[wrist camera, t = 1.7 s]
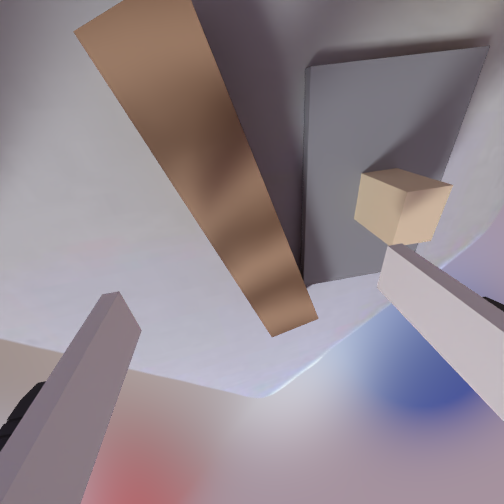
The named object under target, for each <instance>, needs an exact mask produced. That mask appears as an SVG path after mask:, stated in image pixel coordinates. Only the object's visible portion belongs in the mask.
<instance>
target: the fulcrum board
mask: <svg viewBox="0 0 504 504" xmlns="http://www.w3.org/2000/svg"><path fill="white" fill-rule="evenodd" d="M489 48H490V46H484V47H475V48H466V49H457V50H449V51H440V52H431V53H423V54H414V55H405V56H396V57H388V58H379V59H370V60H361V61H353V62H344V63H335V64H326V65H318V66H310V67H308V68H306V69H305V101H304V146H303V190H302V234H301V276H302V279H303V281H304V284H305V285H311V284H316V283H322V282H328V281H333V280H339V279H344V278H350V277H355V276H361V275H366V274H372V273H378V272H381V269H382V265H383V262H384V258H385V254H386V250H387V246H389V245H395V244H401V243H402V244H404V245H405V246H407V247H408V248H410V249H411V250H413V251H414V252H415V251H416V248H417V245H418V243H421V242H427V241H431V239H432V237H433V234H434V232H435V229H436V227H437V224H438V222H439V219H440V217H441V214H442V212H443V209H444V207H445V204H446V202H447V199H448V197H449V194H450V192H451V189H452V187H453V185H451V184H448V183H444V182H441V179H442V177H443V174H444V171H445V168H446V166H447V163H448V160H449V157H450V155H451V152H452V149H453V146H454V144H455V141H456V138H457V136H458V133H459V130H460V127H461V125H462V122H463V119H464V116H465V114H466V111H467V108H468V105H469V103H470V100H471V97H472V94H473V92H474V89H475V86H476V83H477V81H478V78H479V75H480V72H481V70H482V67H483V64H484V62H485V59H486V56H487V53H488V51H489Z"/></svg>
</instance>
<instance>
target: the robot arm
mask: <svg viewBox="0 0 504 504" xmlns="http://www.w3.org/2000/svg"><path fill="white" fill-rule="evenodd" d="M377 288H378V289H379V290H380V291H381V292H382V294H383V295H384V296H385V297H386V298H387V299H388V300H389V301H390V302H391V303H392V304H393V305H394V306H395V307H396V308H397V309H398V310H399V311H400V313H401V314H402V315H403V316H404V317H405V318H406V319H407V320H408V321H409V322H410V323H411V324H412V325H413V326H414V327H415V328H416V329H417V330H418V331H419V332H420V334H421V335H422V336H423V337H424V338H425V339H426V340H427V341H428V342H429V343H430V344H431V345H432V346H433V347H434V348H435V349H436V350H437V351H438V353H439V354H440V355H441V356H442V357H443V358H444V359H445V360H446V361H447V362H448V363H449V364H450V365H451V366H452V367H453V368H454V369H455V371H456V372H457V373H459V375H460V376H461V377H462V378H463V379H464V380H465V381H466V382H467V383H468V384H469V385H470V386H471V387H472V388H473V389H474V390H475V392H476V393H477V394H478V395H479V396H480V397H481V398H482V399H483V400H484V401H485V402H486V403H487V404H488V405H489V406H490V407H491V408H492V410H493V411H494V412H495V413H497V415H498V416H499V417H500V418H501V419H502V420H503V421H504V305H503V304H501V303H499V302H496V301H494V300H492V299H490V298H487V297H481V296H479V295H478V294H476V293H475V292H473V291H472V290H471V289H469V288H468V287H466V286H465V285H463V284H461V283H460V282H459V281H457V280H456V279H454V278H453V277H451V276H449V275H448V274H447V273H445V272H444V271H442V270H441V269H439V268H438V267H436V266H435V265H433V264H432V263H430V262H429V261H427V260H426V259H425V258H423V257H422V256H420V255H419V254H417V253H416V252H414V251H413V250H411V249H410V248H408V247H407V246H405V245H404V244H402V243H401V244H395V245H389V246H387V250H386V254H385V258H384V262H383V265H382V269H381V273H380V277H379V281H378V285H377ZM140 333H141V328H140V327H139V325H138V323H137V322H136V320H135V318H134V316H133V315H132V313H131V311H130V309H129V308H128V306H127V304H126V302H125V301H124V299H123V297H122V295H121V294H120V292H114V293H108V294H102V296H101V297H100V299H99V300H98V302H97V303H96V305H95V306H94V308H93V310H92V311H91V313H90V314H89V316H88V317H87V319H86V320H85V322H84V323H83V325H82V327H81V328H80V330H79V331H78V333H77V334H76V336H75V337H74V339H73V340H72V342H71V344H70V345H69V347H68V348H67V350H66V351H65V353H64V354H63V356H62V358H61V359H60V361H59V362H58V364H57V365H56V367H55V368H54V370H53V371H52V373H51V375H50V376H49V378H48V379H47V381H45V382H40V383H38V384H36V385H35V386H34V387H33V388H32V389H31V390H30V391H29V392H28V393H27V394H26V395H25V396H24V397H23V398H22V399H21V400H20V402H19V403H18V405H17V406H16V407H15V409H14V410H13V412H12V413H11V415H10V416H9V417H8V419H7V423H6V424H4V425H3V426H2V428H1V429H0V504H80V503H81V500H82V498H83V495H84V492H85V489H86V486H87V484H88V481H89V478H90V475H91V472H92V469H93V466H94V464H95V461H96V458H97V455H98V452H99V449H100V447H101V444H102V441H103V438H104V435H105V433H106V429H107V427H108V424H109V421H110V418H111V416H112V413H113V410H114V407H115V404H116V401H117V398H118V396H119V393H120V390H121V387H122V384H123V381H124V379H125V376H126V373H127V370H128V367H129V364H130V362H131V359H132V356H133V353H134V350H135V347H136V345H137V342H138V339H139V336H140Z"/></svg>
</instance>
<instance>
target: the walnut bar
mask: <svg viewBox="0 0 504 504" xmlns="http://www.w3.org/2000/svg"><path fill="white" fill-rule="evenodd" d="M73 32H74V33H75V35H76V37H77V38H78V40H79V41H80V43H81V44H82V46H83V47H84V49H85V50H86V52H87V53H88V55H89V57H90V58H91V60H92V61H93V63H94V64H95V66H96V67H97V69H98V70H99V72H100V73H101V75H102V77H103V78H104V80H105V81H106V83H107V84H108V86H109V87H110V89H111V90H112V92H113V93H114V95H115V97H116V98H117V100H118V101H119V103H120V104H121V106H122V107H123V109H124V110H125V112H126V113H127V115H128V117H129V118H130V120H131V121H132V123H133V124H134V126H135V127H136V129H137V130H138V132H139V133H140V135H141V137H142V138H143V140H144V141H145V143H146V144H147V146H148V147H149V149H150V150H151V152H152V153H153V155H154V157H155V158H156V160H157V161H158V163H159V164H160V166H161V167H162V169H163V170H164V172H165V173H166V175H167V177H168V178H169V180H170V181H171V183H172V184H173V186H174V187H175V189H176V190H177V192H178V193H179V195H180V197H181V198H182V200H183V201H184V203H185V204H186V206H187V207H188V209H189V210H190V212H191V213H192V215H193V217H194V218H195V220H196V221H197V223H198V224H199V226H200V227H201V229H202V230H203V232H204V233H205V235H206V237H207V238H208V240H209V241H210V243H211V244H212V246H213V247H214V249H215V250H216V252H217V253H218V255H219V256H220V258H221V260H222V261H223V263H224V264H225V266H226V267H227V269H228V270H229V272H230V273H231V275H232V276H233V278H234V280H235V281H236V283H237V284H238V286H239V287H240V289H241V290H242V292H243V293H244V295H245V296H246V298H247V300H248V301H249V303H250V304H251V306H252V307H253V309H254V310H255V312H256V313H257V315H258V316H259V318H260V320H261V321H262V323H263V324H264V326H265V327H266V329H267V330H268V332H269V333H270V335H271V336H272V337H274V336H277V335H279V334H282V333H284V332H287V331H289V330H292V329H294V328H297V327H299V326H302V325H304V324H307V323H309V322H311V321H314V320H316V319H318V316H317V314H316V311H315V309H314V306H313V304H312V301H311V299H310V296H309V294H308V291H307V289H306V286H305V284H304V281H303V279H302V276H301V274H300V271H299V269H298V266H297V264H296V261H295V259H294V256H293V254H292V251H291V249H290V246H289V244H288V241H287V239H286V236H285V234H284V231H283V229H282V226H281V224H280V221H279V219H278V216H277V214H276V211H275V209H274V206H273V204H272V201H271V199H270V196H269V194H268V191H267V189H266V186H265V184H264V181H263V179H262V176H261V174H260V171H259V169H258V166H257V164H256V161H255V159H254V156H253V154H252V151H251V149H250V146H249V144H248V141H247V139H246V136H245V134H244V131H243V129H242V126H241V124H240V121H239V119H238V116H237V114H236V111H235V109H234V106H233V104H232V101H231V99H230V96H229V94H228V91H227V89H226V86H225V84H224V81H223V79H222V76H221V74H220V71H219V69H218V66H217V64H216V61H215V59H214V56H213V54H212V51H211V49H210V46H209V44H208V41H207V39H206V36H205V34H204V31H203V29H202V26H201V24H200V21H199V19H198V16H197V14H196V11H195V9H194V6H193V4H192V1H191V0H123V1H122V2H120V3H118V4H117V5H115V6H114V7H112V8H110V9H109V10H107V11H105V12H104V13H102V14H101V15H99V16H97V17H96V18H94V19H93V20H91V21H89V22H88V23H86V24H85V25H83V26H81V27H80V28H78V29H77V30H75V31H73Z"/></svg>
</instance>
